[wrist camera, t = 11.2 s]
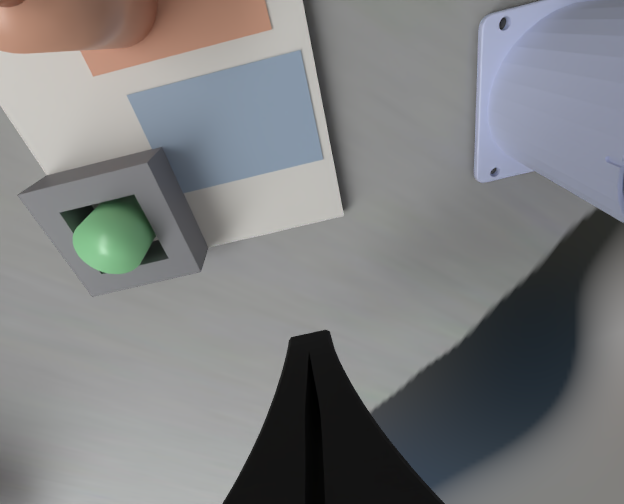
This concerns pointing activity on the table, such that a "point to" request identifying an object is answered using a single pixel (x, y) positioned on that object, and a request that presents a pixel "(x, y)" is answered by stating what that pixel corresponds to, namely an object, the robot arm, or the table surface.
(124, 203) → the button
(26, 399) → the table surface
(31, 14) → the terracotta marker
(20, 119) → the picture board
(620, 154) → the robot arm
